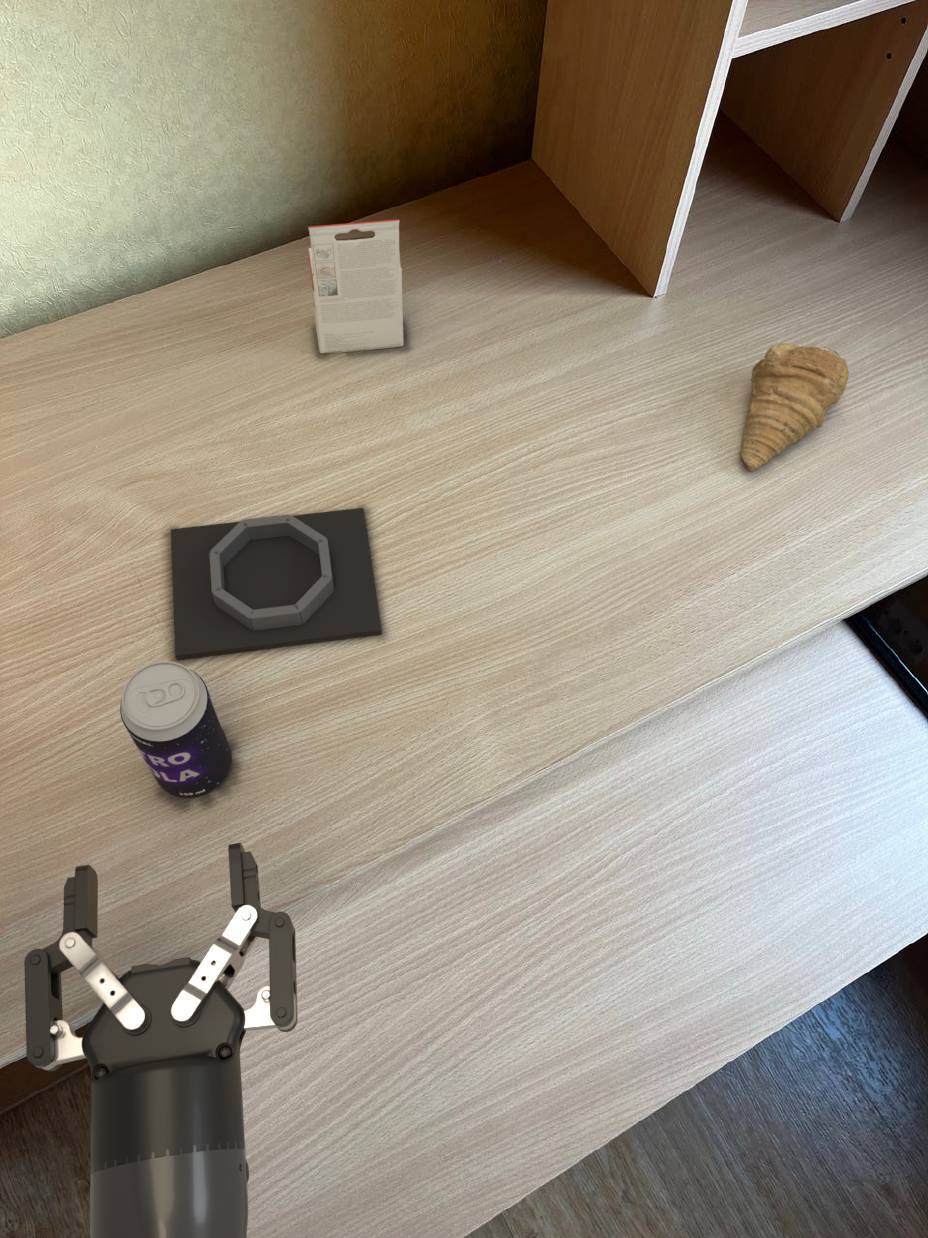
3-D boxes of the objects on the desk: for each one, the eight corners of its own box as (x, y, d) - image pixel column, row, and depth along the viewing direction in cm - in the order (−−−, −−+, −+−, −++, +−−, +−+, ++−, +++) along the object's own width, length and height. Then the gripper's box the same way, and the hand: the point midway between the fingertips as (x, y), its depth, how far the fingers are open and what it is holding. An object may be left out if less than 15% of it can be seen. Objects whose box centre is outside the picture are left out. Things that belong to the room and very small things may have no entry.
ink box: (316, 328, 100) (301, 198, 88) (399, 321, 101) (396, 191, 89) (319, 356, 99) (305, 228, 86) (404, 349, 99) (402, 221, 87)
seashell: (742, 491, 98) (827, 498, 93) (710, 450, 92) (800, 456, 87) (783, 360, 100) (868, 360, 96) (754, 311, 94) (844, 309, 89)
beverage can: (146, 746, 79) (105, 672, 68) (220, 720, 80) (191, 643, 70) (167, 814, 76) (127, 748, 66) (243, 785, 77) (216, 716, 67)
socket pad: (177, 660, 82) (169, 643, 80) (172, 534, 88) (165, 514, 86) (381, 634, 84) (380, 617, 82) (363, 512, 90) (362, 492, 88)
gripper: (304, 1138, 51) (278, 817, 59) (-4, 1193, 49) (12, 856, 57) (318, 1149, 57) (292, 859, 65) (46, 1198, 56) (54, 895, 64)
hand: (161, 858), depth 61 cm, fingers open, 8 cm apart
